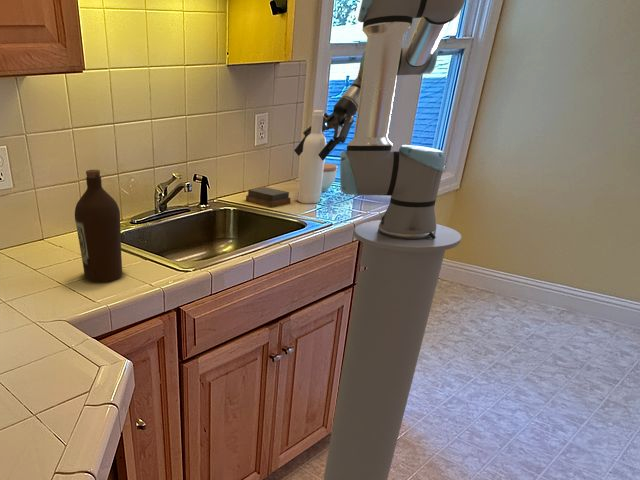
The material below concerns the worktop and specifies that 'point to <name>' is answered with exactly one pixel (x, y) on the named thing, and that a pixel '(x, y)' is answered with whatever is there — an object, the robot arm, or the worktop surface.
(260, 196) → the sharpening stone
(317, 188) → the bottle
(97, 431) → the worktop surface
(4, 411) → the worktop surface
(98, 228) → the olive oil
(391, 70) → the robot arm
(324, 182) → the lidded bowl
